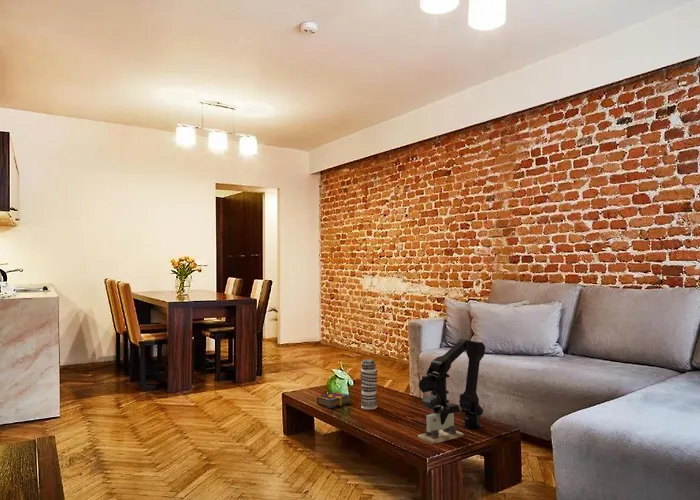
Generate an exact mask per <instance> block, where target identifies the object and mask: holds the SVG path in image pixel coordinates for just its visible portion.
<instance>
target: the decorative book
mask: <svg viewBox="0 0 700 500" xmlns="http://www.w3.org/2000/svg"><path fill="white" fill-rule="evenodd" d="M350 397H351V394H348V393H342V392H339V391H335V392H333V391H332V392H329V393H327V394H322V395H320V396H317V397H316V405H318V406H322V407H325V408H327V409H333V408H336V407H341V406H342V405H346V404H350V403H351V401H350Z"/></svg>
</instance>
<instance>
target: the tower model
mask: <svg viewBox="0 0 700 500" xmlns="http://www.w3.org/2000/svg"><path fill="white" fill-rule="evenodd" d="M360 364H361V368H360V372H359V374H360V386H361V394H360V395H361V397H360V399H361V400H360V402H361V407H360V408H361V409H364V410H375V409H377V408H378V403H377V402H378V396H377V395H378V394H377V382H378V380H377V379H378V377H377V376H378V370H377V367H376V364H377V363H376V362H375V360H373V359H372V358H371V359H369V358H367V359H363V360H362V361H361V362H360Z"/></svg>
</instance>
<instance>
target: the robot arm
mask: <svg viewBox="0 0 700 500" xmlns="http://www.w3.org/2000/svg"><path fill="white" fill-rule="evenodd" d="M465 351H466V352H465ZM464 352H465V354H466V355H467V356H466V357H467V359H468V363H467V364H468V365H467V373H466V380H465V381H466V382H465V388H464V389H465V390H464V391H463V393H460V395H459V401H458V403H459V405H458V404H456V403H453V402H451V403H449V402H450V400H449V399H447V398H448V397H447V395H448V394H449V390H447V389H448V388H447V379H448V378H450V375H449V374H448V372H449V371H450V369H451V367H452V363H454V362H455V361H456V360H457V359H458V358H459V357H460V356H461V355H462V354H463V353H464ZM485 353H486V345H485V343H483V342H482V341H476V340H469V339H464V338H460V339H459V340H457V342H456V343H455V344H454V345H453V346H452V347H451V348H450V349H449V350H448V351H446V352H445V353H444V354H442V355H439V356H437V357H436V358H434V359H432V360H431V362H430V365H429V367H428V369H427V370H426V374H425V375H422V376H421V379H420V380H419V382H418V388H419V390H420V391H421V392H422V393H428V392H430V395H428V396H424V397H423V398H422V400H421V402H422V403H421V404H423V406H424V407H425V408H427V409H428V410H429V409H430V410H432V411H433V414H434V413H438V412H440V417H441V425H443V424H444V423H445V420H446V418H447V416H448V414H451V413H459V412H460V410H461V412H462V413H464V423H463V424H462V426H463V427H465V428H467V429H470V430H477V429H480V428H483V425H481V423H480V421H481V420H480V418H481V416H482V415H483V414H484V409H483V408H482V406H481V405H480V402H479V401H480V399H479V396H478V394H477V388H478V387H477V386H478V379H479V371H480V362H481V360H482V359H483V358H484V357H485Z"/></svg>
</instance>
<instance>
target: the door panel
mask: <svg viewBox="0 0 700 500" xmlns="http://www.w3.org/2000/svg"><path fill="white" fill-rule="evenodd" d="M425 417H426V418H425V419H426V428H427V432H429V433H430V432H431V431H435V430H442V429H446V428H449V427H451V426H455V418H454V417H455V414H454V413H451V414H448V416H447V418H446V420H445V423H444V424H443V425H441V417H440V412H438V413H434V412H433V413H431V414H427V415H426V416H425Z"/></svg>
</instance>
